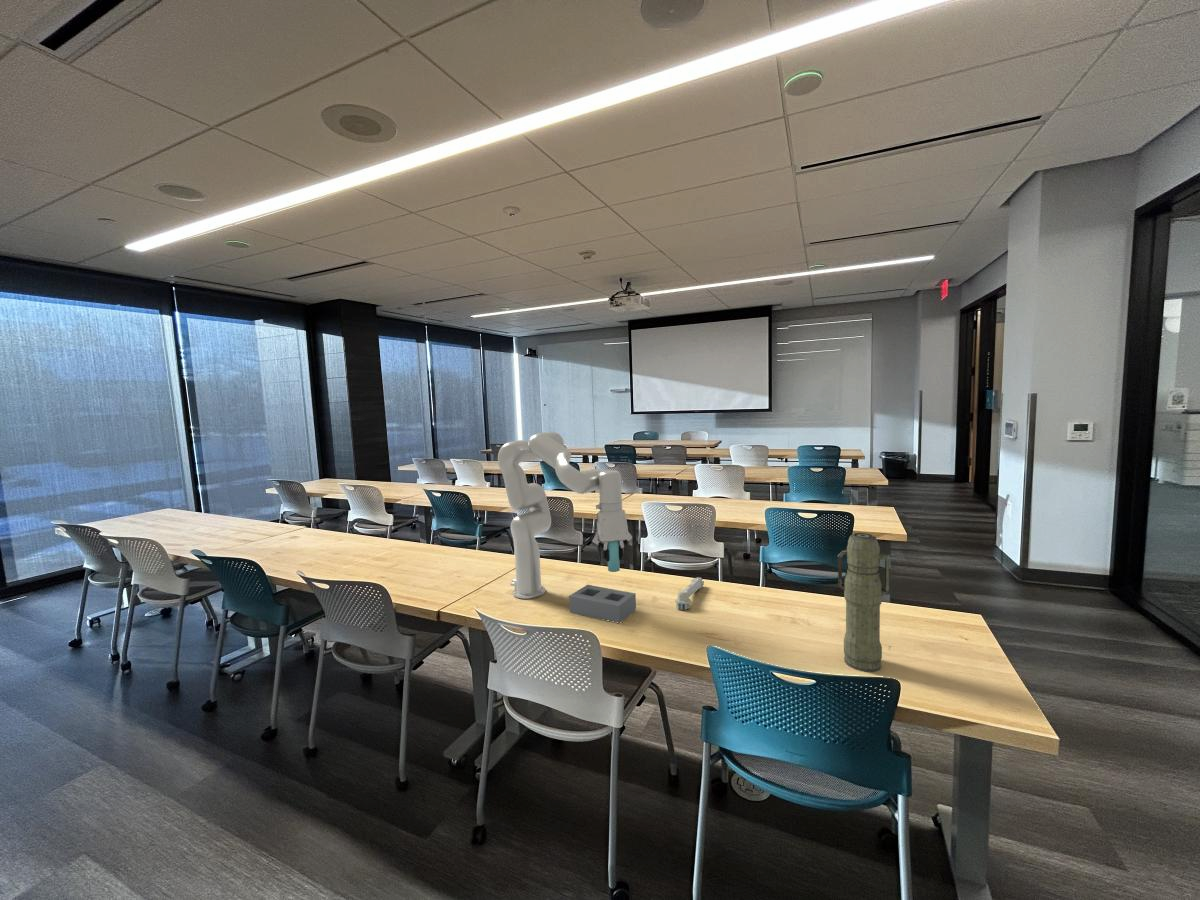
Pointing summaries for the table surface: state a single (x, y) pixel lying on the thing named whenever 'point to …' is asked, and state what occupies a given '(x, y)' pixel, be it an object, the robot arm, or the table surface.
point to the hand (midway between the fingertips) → (613, 559)
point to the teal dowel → (613, 556)
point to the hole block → (602, 603)
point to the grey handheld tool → (688, 593)
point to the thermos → (863, 601)
